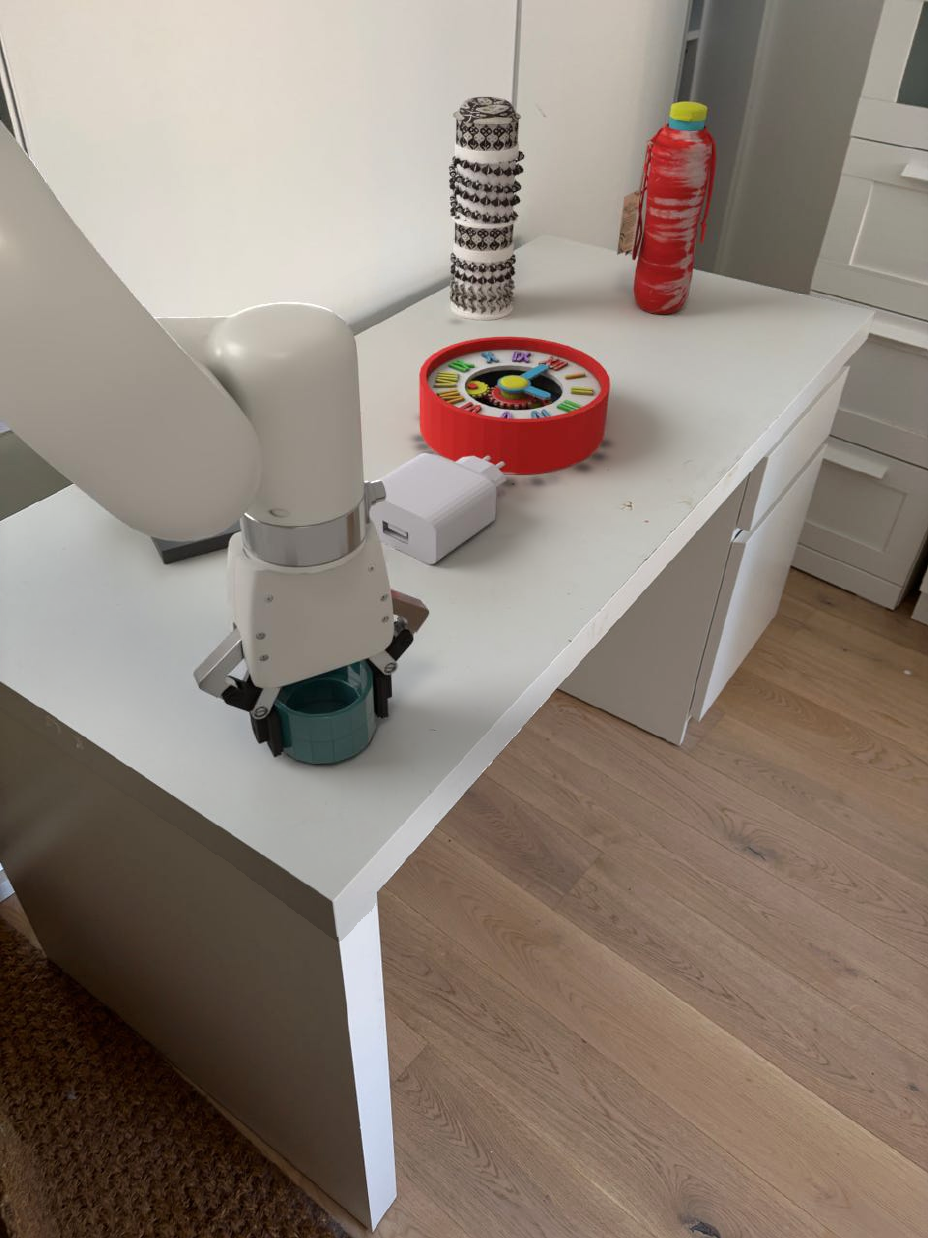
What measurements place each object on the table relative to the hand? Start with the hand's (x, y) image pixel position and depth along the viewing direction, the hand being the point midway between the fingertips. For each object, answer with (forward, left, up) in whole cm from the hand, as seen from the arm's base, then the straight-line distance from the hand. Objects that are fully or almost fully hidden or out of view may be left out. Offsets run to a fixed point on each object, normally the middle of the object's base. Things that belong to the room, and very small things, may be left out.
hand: (324, 722), depth 69 cm
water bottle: (+69, +54, -1) cm, 88 cm away
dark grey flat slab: (+2, +31, -1) cm, 31 cm away
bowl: (0, 0, -1) cm, 1 cm away
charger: (+21, +21, -1) cm, 30 cm away
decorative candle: (+48, +63, -1) cm, 79 cm away
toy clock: (+35, +33, -1) cm, 48 cm away
